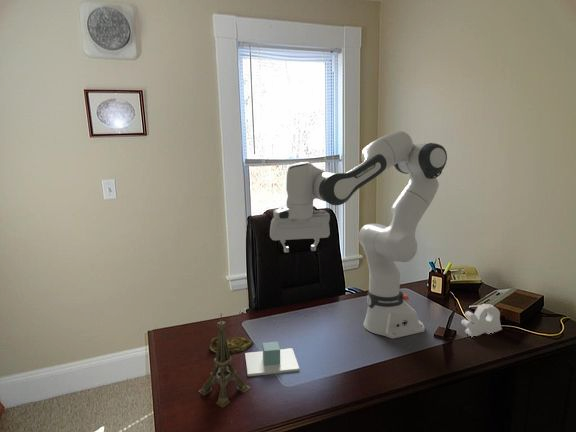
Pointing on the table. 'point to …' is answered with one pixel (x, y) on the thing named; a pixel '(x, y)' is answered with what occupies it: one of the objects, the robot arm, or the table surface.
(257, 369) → the board
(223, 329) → the eiffel tower
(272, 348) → the cube
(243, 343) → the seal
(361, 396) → the table surface
